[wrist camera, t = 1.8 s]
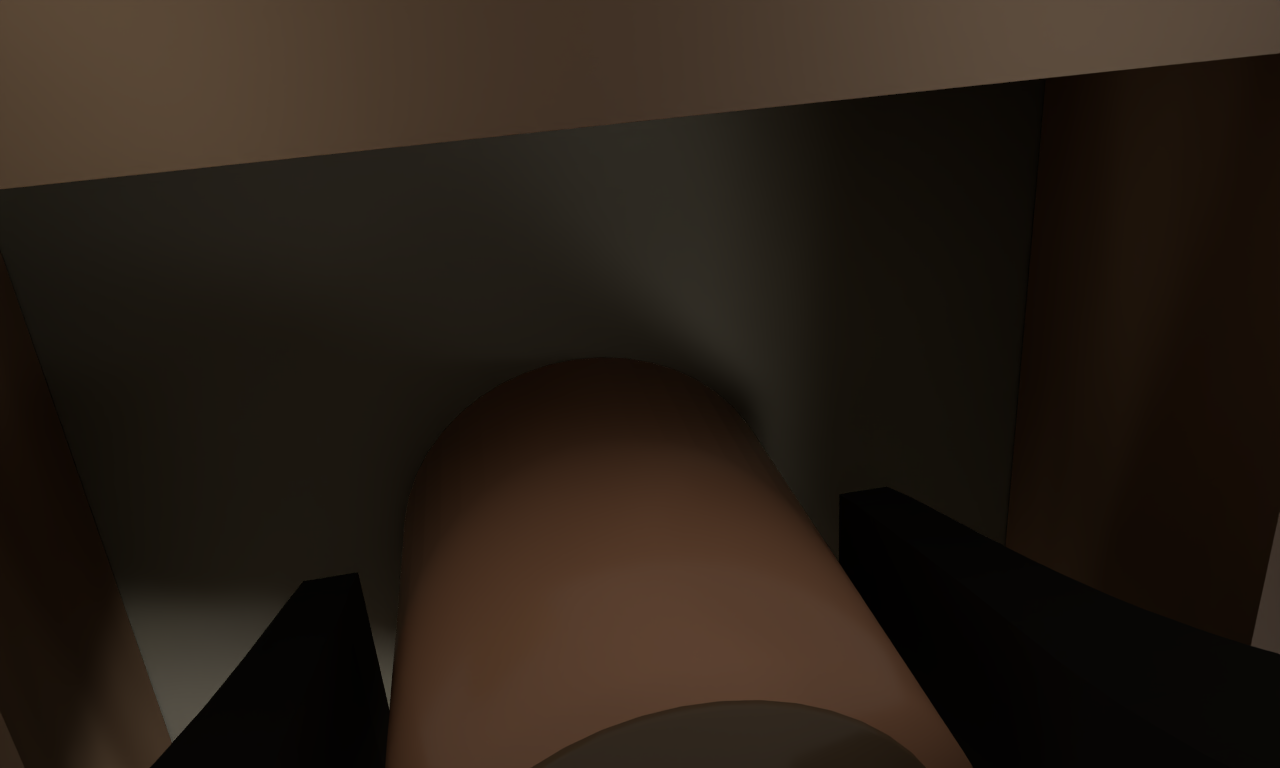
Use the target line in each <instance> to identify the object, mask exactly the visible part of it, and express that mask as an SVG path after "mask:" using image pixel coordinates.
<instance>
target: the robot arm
mask: <svg viewBox="0 0 1280 768" xmlns="http://www.w3.org/2000/svg"><path fill="white" fill-rule="evenodd" d="M839 564H840V565H841V567H842V568H843V570H844V571H845V573H846V574H847V576H848V577H849V579H850V580H851V582H852V583H853V585H854V586H855V588H856V589H857V591H858V592H859V594H860V595H861V597H862V598H863V600H864V601H865V603H866V605H867V606H868V608H869V609H870V611H871V612H872V614H873V615H874V617H875V618H876V620H877V621H878V623H879V624H880V626H881V627H882V629H883V630H884V632H885V633H886V635H887V636H888V638H889V639H890V641H891V642H892V644H893V646H894V647H895V649H896V650H897V652H898V653H899V655H900V656H901V658H902V659H903V661H904V662H905V664H906V665H907V667H908V668H909V670H910V671H911V673H912V674H913V676H914V677H915V679H916V680H917V682H918V683H919V685H920V687H921V688H922V690H923V691H924V693H925V694H926V696H927V697H928V699H929V700H930V702H931V703H932V705H933V706H934V708H935V709H936V711H937V712H938V714H939V715H940V717H941V718H942V720H943V721H944V723H945V724H946V726H947V727H948V729H949V731H950V732H951V734H952V735H953V737H954V738H955V740H956V741H957V743H958V744H959V746H960V747H961V749H962V750H963V752H964V753H965V755H966V757H967V758H968V760H969V762H970V763H971V765H972V767H973V768H1280V654H1278V653H1275V652H1271V651H1268V650H1264V649H1261V648H1257V647H1254V646H1250V645H1247V644H1243V643H1240V642H1237V641H1234V640H1231V639H1228V638H1225V637H1221V636H1218V635H1215V634H1212V633H1209V632H1206V631H1203V630H1200V629H1198V628H1195V627H1192V626H1189V625H1187V624H1184V623H1181V622H1178V621H1176V620H1173V619H1170V618H1167V617H1165V616H1162V615H1159V614H1156V613H1153V612H1151V611H1148V610H1145V609H1143V608H1140V607H1138V606H1135V605H1133V604H1130V603H1128V602H1125V601H1123V600H1120V599H1118V598H1115V597H1113V596H1110V595H1108V594H1106V593H1104V592H1101V591H1099V590H1097V589H1095V588H1092V587H1090V586H1088V585H1086V584H1083V583H1081V582H1079V581H1076V580H1074V579H1072V578H1070V577H1067V576H1065V575H1063V574H1061V573H1059V572H1056V571H1054V570H1052V569H1050V568H1048V567H1046V566H1044V565H1042V564H1040V563H1038V562H1035V561H1033V560H1031V559H1029V558H1027V557H1025V556H1023V555H1021V554H1019V553H1017V552H1015V551H1013V550H1011V549H1009V548H1007V547H1005V546H1003V545H1001V544H999V543H997V542H995V541H994V540H992V539H990V538H988V537H986V536H984V535H982V534H980V533H978V532H976V531H974V530H972V529H970V528H969V527H967V526H965V525H963V524H961V523H959V522H957V521H955V520H953V519H951V518H950V517H948V516H946V515H944V514H942V513H940V512H938V511H936V510H934V509H932V508H930V507H929V506H927V505H925V504H923V503H921V502H919V501H917V500H915V499H913V498H911V497H909V496H907V495H905V494H902V493H900V492H898V491H896V490H894V489H891V488H889V487H882V488H876V489H870V490H864V491H858V492H851V493H845V494H839ZM388 724H389V706H388V702H387V698H386V693H385V689H384V684H383V680H382V676H381V671H380V667H379V662H378V658H377V654H376V649H375V645H374V641H373V636H372V632H371V628H370V623H369V619H368V614H367V610H366V606H365V601H364V597H363V592H362V588H361V584H360V579H359V575H358V573H352V574H346V575H340V576H333V577H327V578H321V579H315V580H309V581H303V583H302V584H301V585H300V586H299V588H298V589H297V590H296V591H295V593H294V594H293V595H292V596H291V598H290V599H289V600H288V601H287V603H286V604H285V605H284V606H283V608H282V609H281V610H280V612H279V613H278V614H277V616H276V617H275V618H274V619H273V621H272V622H271V623H270V625H269V626H268V627H267V629H266V630H265V631H264V633H263V634H262V635H261V637H260V638H259V639H258V640H257V642H256V643H255V644H254V646H253V647H252V648H251V650H250V651H249V652H248V653H247V655H246V656H245V657H244V659H243V660H242V661H241V662H240V664H239V665H238V666H237V667H236V669H235V670H234V671H233V672H232V673H231V675H230V676H229V677H228V678H227V680H226V681H225V682H224V683H223V685H222V686H221V687H220V688H219V690H218V691H217V692H216V693H215V694H214V696H213V697H212V698H211V699H210V701H209V702H208V703H207V704H206V705H205V707H204V708H203V709H202V710H201V711H200V712H199V713H198V715H197V716H196V717H195V718H194V719H193V720H192V721H191V722H190V724H189V725H188V726H187V727H186V728H185V729H184V730H183V731H182V733H181V734H180V735H179V736H178V737H177V738H176V739H175V740H174V741H173V743H172V744H171V745H170V746H169V747H168V748H167V749H166V750H165V752H164V753H163V754H162V755H161V756H160V757H159V758H158V759H157V760H156V762H155V763H154V764H153V765H152V766H151V767H150V768H385V761H386V749H387V736H388Z"/></svg>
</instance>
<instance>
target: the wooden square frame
mask: <svg viewBox="0 0 1280 768" xmlns="http://www.w3.org/2000/svg"><path fill="white" fill-rule="evenodd" d="M1042 78H1046V83H1045V94H1044V106H1043V117H1042V129H1041V141H1040V152H1039V164H1038V175H1037V187H1036V199H1035V210H1034V222H1033V233H1032V245H1031V257H1030V268H1029V280H1028V291H1027V303H1026V314H1025V326H1024V338H1023V349H1022V361H1021V372H1020V384H1019V396H1018V407H1017V419H1016V430H1015V442H1014V453H1013V465H1012V477H1011V488H1010V500H1009V511H1008V523H1007V535H1006V546H1005V547H1007V548H1009V549H1011V550H1013V551H1015V552H1017V553H1019V554H1021V555H1023V556H1025V557H1027V558H1029V559H1031V560H1033V561H1035V562H1038V563H1040V564H1042V565H1044V566H1046V567H1048V568H1050V569H1052V570H1054V571H1056V572H1059V573H1061V574H1063V575H1065V576H1067V577H1070V578H1072V579H1074V580H1076V581H1079V582H1081V583H1083V584H1086V585H1088V586H1090V587H1092V588H1095V589H1097V590H1099V591H1101V592H1104V593H1106V594H1108V595H1110V596H1113V597H1115V598H1118V599H1120V600H1123V601H1125V602H1128V603H1130V604H1133V605H1135V606H1138V607H1140V608H1143V609H1145V610H1148V611H1151V612H1153V613H1156V614H1159V615H1162V616H1165V617H1167V618H1170V619H1173V620H1176V621H1178V622H1181V623H1184V624H1187V625H1189V626H1192V627H1195V628H1198V629H1200V630H1203V631H1206V632H1209V633H1212V634H1215V635H1218V636H1221V637H1225V638H1228V639H1231V640H1234V641H1237V642H1240V643H1243V644H1247V645H1250V646H1254V647H1257V648H1261V649H1264V650H1268V651H1271V652H1275V653H1278V654H1280V0H0V189H8V188H17V187H27V186H36V185H46V184H55V183H64V182H74V181H83V180H93V179H102V178H111V177H121V176H130V175H140V174H149V173H158V172H168V171H177V170H187V169H196V168H205V167H215V166H224V165H234V164H243V163H252V162H262V161H271V160H281V159H290V158H299V157H309V156H318V155H328V154H337V153H346V152H356V151H365V150H375V149H384V148H393V147H403V146H412V145H422V144H431V143H440V142H450V141H459V140H469V139H478V138H487V137H497V136H506V135H516V134H525V133H534V132H544V131H553V130H563V129H572V128H581V127H591V126H600V125H610V124H619V123H628V122H638V121H647V120H657V119H666V118H675V117H685V116H694V115H704V114H713V113H722V112H732V111H741V110H751V109H760V108H769V107H779V106H788V105H798V104H807V103H816V102H826V101H835V100H845V99H854V98H863V97H873V96H882V95H892V94H901V93H910V92H920V91H929V90H939V89H948V88H957V87H967V86H976V85H985V84H995V83H1004V82H1014V81H1023V80H1032V79H1042ZM171 744H172V742H171V739H170V737H169V734H168V731H167V728H166V725H165V722H164V719H163V716H162V714H161V711H160V708H159V705H158V702H157V699H156V696H155V693H154V691H153V688H152V685H151V682H150V679H149V676H148V673H147V671H146V668H145V665H144V662H143V659H142V656H141V653H140V650H139V648H138V645H137V642H136V639H135V636H134V633H133V630H132V627H131V625H130V622H129V619H128V616H127V613H126V610H125V607H124V604H123V602H122V599H121V596H120V593H119V590H118V587H117V584H116V582H115V579H114V576H113V573H112V570H111V567H110V564H109V561H108V559H107V556H106V553H105V550H104V547H103V544H102V541H101V538H100V536H99V533H98V530H97V527H96V524H95V521H94V518H93V516H92V513H91V510H90V507H89V504H88V501H87V498H86V495H85V493H84V490H83V487H82V484H81V481H80V478H79V475H78V472H77V470H76V467H75V464H74V461H73V458H72V455H71V452H70V449H69V447H68V444H67V441H66V438H65V435H64V432H63V429H62V427H61V424H60V421H59V418H58V415H57V412H56V409H55V406H54V404H53V401H52V398H51V395H50V392H49V389H48V386H47V383H46V381H45V378H44V375H43V372H42V369H41V366H40V363H39V361H38V358H37V355H36V352H35V349H34V346H33V343H32V340H31V338H30V335H29V332H28V329H27V326H26V323H25V320H24V317H23V315H22V312H21V309H20V306H19V303H18V300H17V297H16V294H15V292H14V289H13V286H12V283H11V280H10V277H9V274H8V272H7V269H6V266H5V263H4V260H3V257H2V254H1V251H0V768H150V767H151V766H152V765H153V764H154V763H155V762H156V760H157V759H158V758H159V757H160V756H161V755H162V754H163V753H164V752H165V750H166V749H167V748H168V747H169V746H170V745H171Z"/></svg>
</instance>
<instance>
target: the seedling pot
mask: <svg viewBox="0 0 1280 768" xmlns="http://www.w3.org/2000/svg"><path fill="white" fill-rule="evenodd" d="M385 768H973V767H972V765H971V763H970V762H969V760H968V758H967V757H966V755H965V753H964V752H963V750H962V749H961V747H960V746H959V744H958V743H957V741H956V740H955V738H954V737H953V735H952V734H951V732H950V731H949V729H948V727H947V726H946V724H945V723H944V721H943V720H942V718H941V717H940V715H939V714H938V712H937V711H936V709H935V708H934V706H933V705H932V703H931V702H930V700H929V699H928V697H927V696H926V694H925V693H924V691H923V690H922V688H921V687H920V685H919V683H918V682H917V680H916V679H915V677H914V676H913V674H912V673H911V671H910V670H909V668H908V667H907V665H906V664H905V662H904V661H903V659H902V658H901V656H900V655H899V653H898V652H897V650H896V649H895V647H894V646H893V644H892V642H891V641H890V639H889V638H888V636H887V635H886V633H885V632H884V630H883V629H882V627H881V626H880V624H879V623H878V621H877V620H876V618H875V617H874V615H873V614H872V612H871V611H870V609H869V608H868V606H867V605H866V603H865V601H864V600H863V598H862V597H861V595H860V594H859V592H858V591H857V589H856V588H855V586H854V585H853V583H852V582H851V580H850V579H849V577H848V576H847V574H846V573H845V571H844V570H843V568H842V567H841V565H840V564H839V562H838V560H837V559H836V557H835V556H834V554H833V553H832V551H831V550H830V548H829V547H828V545H827V544H826V542H825V541H824V539H823V538H822V536H821V535H820V533H819V532H818V530H817V529H816V527H815V526H814V524H813V523H812V521H811V519H810V518H809V516H808V515H807V513H806V512H805V510H804V509H803V507H802V506H801V504H800V503H799V501H798V500H797V498H796V497H795V495H794V494H793V492H792V491H791V489H790V488H789V486H788V485H787V483H786V482H785V480H784V478H783V477H782V475H781V474H780V472H779V471H778V469H777V468H776V466H775V465H774V463H773V462H772V460H771V459H770V457H769V456H768V454H767V453H766V451H765V450H764V448H763V447H762V445H761V444H760V442H759V441H758V439H757V437H756V436H755V434H754V433H753V431H752V430H751V428H750V427H749V425H748V424H747V423H746V422H745V420H744V419H743V418H742V417H741V416H740V414H739V413H738V412H737V411H736V410H735V409H734V407H732V406H731V405H730V404H729V403H728V402H727V401H726V400H724V399H723V398H722V397H721V396H720V395H719V394H718V393H716V392H715V391H713V390H712V389H710V388H709V387H707V386H706V385H704V384H702V383H701V382H699V381H698V380H696V379H694V378H692V377H689V376H687V375H685V374H683V373H681V372H679V371H677V370H674V369H671V368H667V367H664V366H661V365H658V364H655V363H650V362H645V361H639V360H633V359H627V358H606V357H600V358H587V359H575V360H570V361H565V362H560V363H555V364H550V365H547V366H544V367H541V368H538V369H535V370H532V371H529V372H526V373H524V374H521V375H519V376H517V377H515V378H513V379H511V380H509V381H507V382H504V383H502V384H500V385H499V386H497V387H496V388H494V389H493V390H491V391H489V392H488V393H486V394H485V395H483V396H481V397H480V398H478V399H477V400H476V401H475V402H474V403H472V404H471V405H470V406H469V407H468V408H466V409H465V410H464V411H463V412H461V413H460V414H459V415H458V416H457V417H456V418H455V419H454V420H453V422H452V423H451V424H450V425H449V426H448V427H447V428H446V429H445V430H444V431H443V432H442V433H441V435H440V436H439V438H438V439H437V440H436V442H435V443H434V445H433V446H432V447H431V449H430V450H429V452H428V453H427V455H426V457H425V459H424V461H423V463H422V465H421V467H420V469H419V470H418V472H417V474H416V477H415V480H414V483H413V486H412V489H411V492H410V495H409V499H408V504H407V509H406V515H405V523H404V535H403V548H402V560H401V573H400V586H399V598H398V611H397V623H396V636H395V648H394V661H393V673H392V686H391V699H390V711H389V724H388V736H387V749H386V761H385Z"/></svg>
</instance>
